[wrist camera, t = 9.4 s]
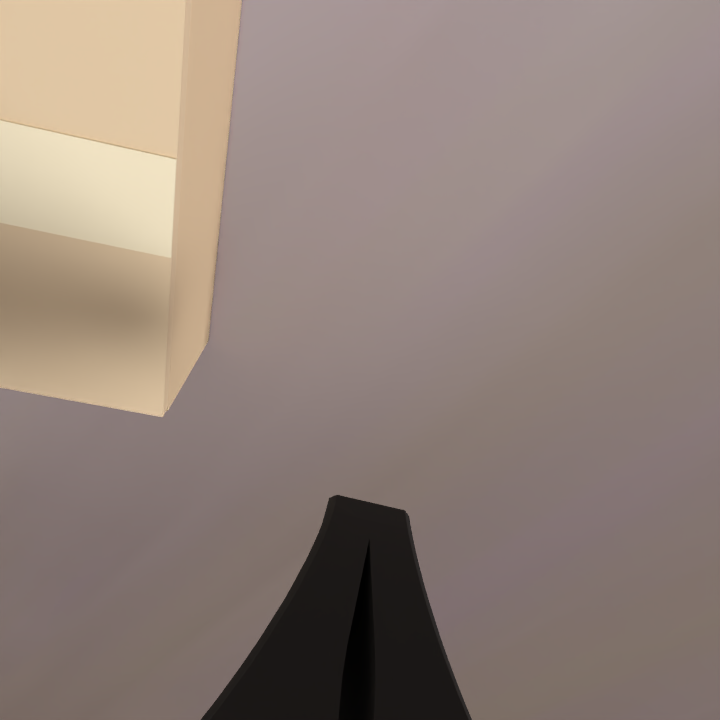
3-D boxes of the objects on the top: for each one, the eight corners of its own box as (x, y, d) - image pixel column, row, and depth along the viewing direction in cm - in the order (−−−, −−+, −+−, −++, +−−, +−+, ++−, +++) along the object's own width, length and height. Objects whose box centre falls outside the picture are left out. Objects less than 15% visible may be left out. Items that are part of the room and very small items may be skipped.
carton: (208, 340, 22) (167, 411, 18) (8, 293, 21) (-71, 355, 18) (253, -120, 15) (200, -141, 11) (-46, -200, 14) (-193, -247, 11)
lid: (167, 406, 18) (162, 418, 18) (-65, 363, 18) (-77, 375, 17) (198, -127, 11) (191, -130, 11) (-182, -230, 11) (-208, -238, 10)
